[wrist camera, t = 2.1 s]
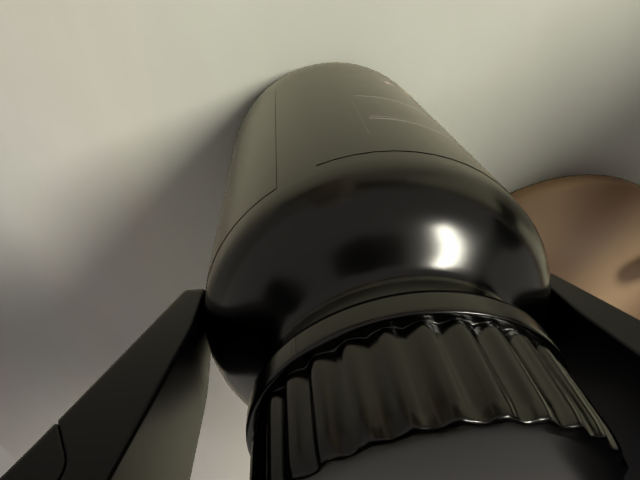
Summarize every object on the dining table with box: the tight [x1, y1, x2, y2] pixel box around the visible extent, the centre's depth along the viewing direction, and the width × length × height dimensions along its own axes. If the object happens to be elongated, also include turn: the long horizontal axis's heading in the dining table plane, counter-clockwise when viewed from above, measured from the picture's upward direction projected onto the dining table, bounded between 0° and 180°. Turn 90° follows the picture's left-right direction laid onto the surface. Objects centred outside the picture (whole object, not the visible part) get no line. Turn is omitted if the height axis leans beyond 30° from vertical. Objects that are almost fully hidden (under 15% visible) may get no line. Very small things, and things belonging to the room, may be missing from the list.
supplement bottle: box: [204, 62, 629, 480], centre depth 10 cm, size 7×7×12 cm
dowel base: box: [510, 175, 640, 320], centre depth 19 cm, size 12×12×3 cm
